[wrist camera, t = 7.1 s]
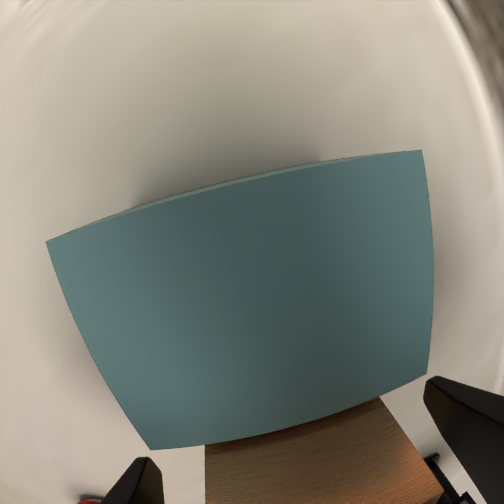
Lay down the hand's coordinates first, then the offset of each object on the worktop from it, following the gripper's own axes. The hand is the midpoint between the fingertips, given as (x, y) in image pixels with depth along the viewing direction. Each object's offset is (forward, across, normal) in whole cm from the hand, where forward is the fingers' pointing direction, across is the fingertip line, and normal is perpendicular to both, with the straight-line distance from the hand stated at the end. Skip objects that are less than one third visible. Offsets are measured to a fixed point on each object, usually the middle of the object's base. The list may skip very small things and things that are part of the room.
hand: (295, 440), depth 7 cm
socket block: (+6, 0, -4) cm, 7 cm away
